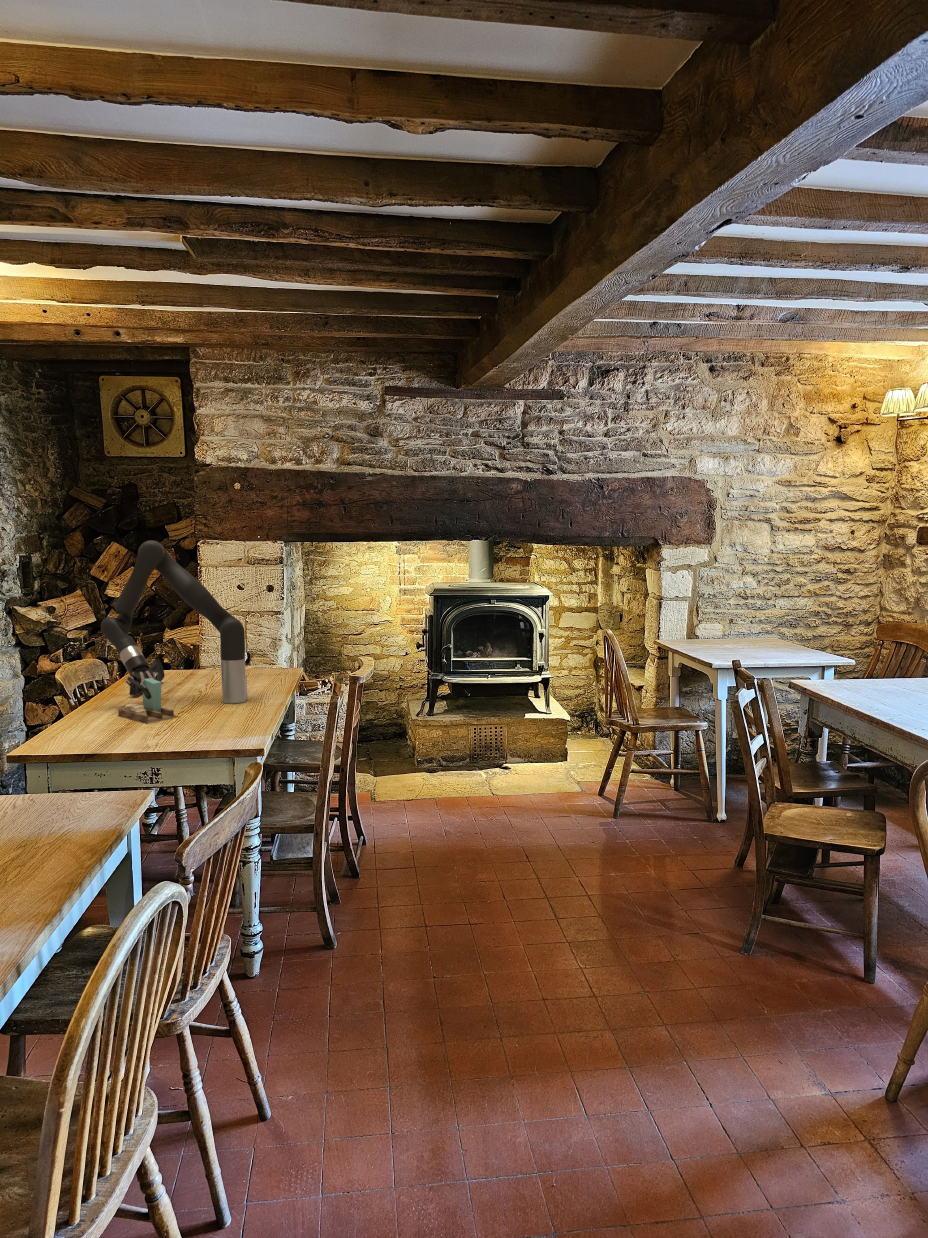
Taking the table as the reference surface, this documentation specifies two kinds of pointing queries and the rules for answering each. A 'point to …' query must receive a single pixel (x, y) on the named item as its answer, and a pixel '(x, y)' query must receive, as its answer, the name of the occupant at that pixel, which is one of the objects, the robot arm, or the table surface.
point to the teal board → (153, 695)
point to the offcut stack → (136, 709)
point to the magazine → (155, 668)
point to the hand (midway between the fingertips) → (154, 697)
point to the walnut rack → (148, 715)
